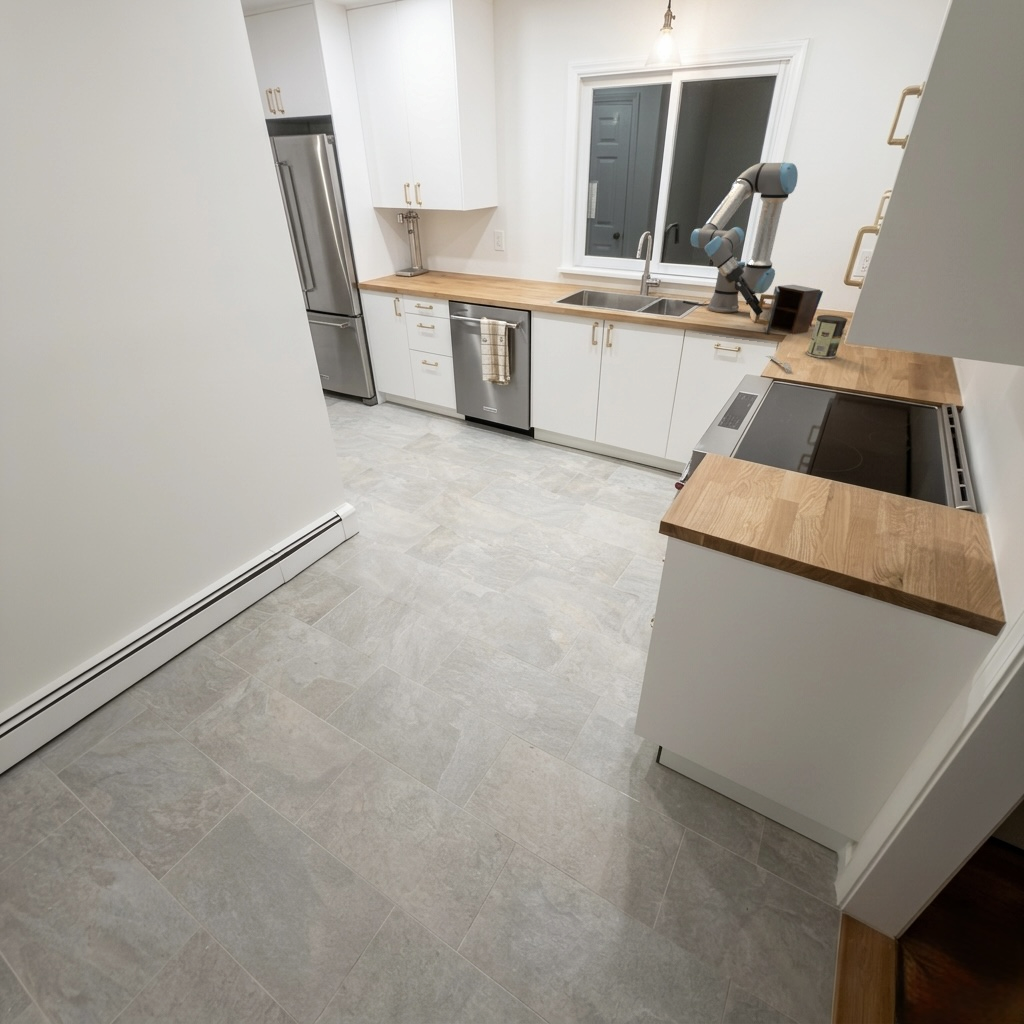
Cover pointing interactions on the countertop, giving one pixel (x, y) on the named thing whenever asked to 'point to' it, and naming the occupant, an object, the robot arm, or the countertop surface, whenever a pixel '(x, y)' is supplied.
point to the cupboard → (794, 308)
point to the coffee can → (826, 336)
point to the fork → (781, 363)
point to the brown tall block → (817, 304)
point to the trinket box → (764, 314)
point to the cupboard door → (771, 310)
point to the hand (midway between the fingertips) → (760, 310)
